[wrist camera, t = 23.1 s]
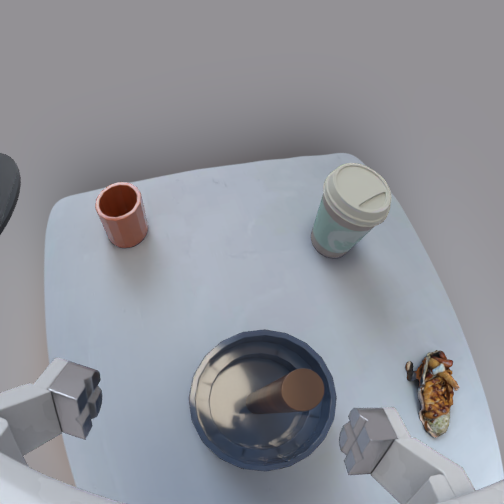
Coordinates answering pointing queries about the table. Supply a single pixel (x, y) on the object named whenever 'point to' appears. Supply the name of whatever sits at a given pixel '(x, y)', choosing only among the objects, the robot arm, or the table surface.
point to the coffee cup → (349, 208)
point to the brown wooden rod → (288, 394)
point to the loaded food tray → (434, 391)
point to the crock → (122, 214)
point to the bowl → (246, 382)
